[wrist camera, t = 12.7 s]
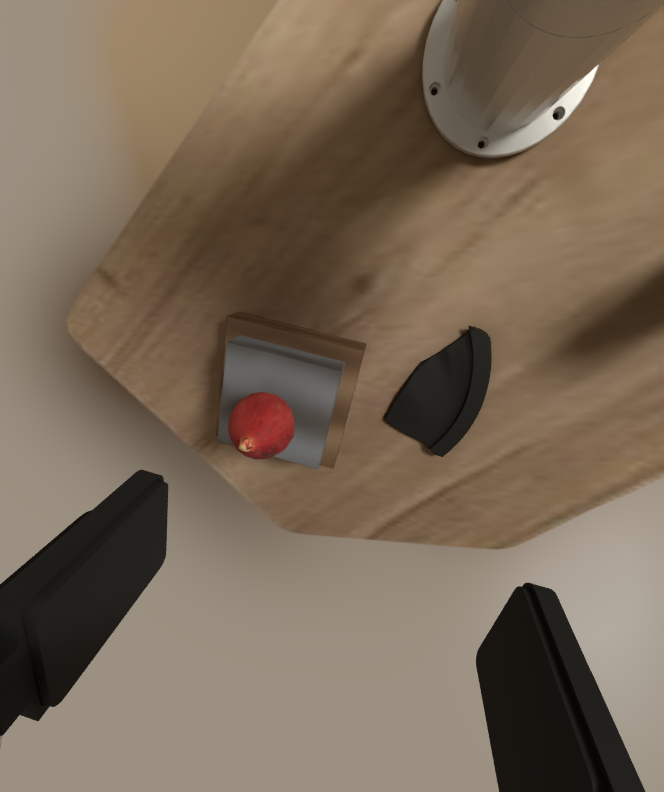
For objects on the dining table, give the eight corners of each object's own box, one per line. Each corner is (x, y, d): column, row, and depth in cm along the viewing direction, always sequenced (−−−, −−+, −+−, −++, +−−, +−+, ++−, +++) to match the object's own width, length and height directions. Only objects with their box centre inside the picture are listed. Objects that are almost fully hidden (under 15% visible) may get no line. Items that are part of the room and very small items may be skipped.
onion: (315, 418, 36) (294, 463, 28) (270, 443, 38) (239, 491, 30) (280, 369, 34) (248, 403, 27) (235, 398, 36) (194, 437, 29)
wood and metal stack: (239, 311, 39) (213, 322, 34) (366, 343, 38) (360, 360, 33) (227, 424, 45) (203, 449, 39) (337, 454, 44) (328, 484, 38)
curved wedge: (525, 355, 36) (530, 359, 35) (442, 452, 42) (444, 459, 41) (454, 311, 36) (457, 314, 35) (380, 415, 42) (380, 421, 40)
